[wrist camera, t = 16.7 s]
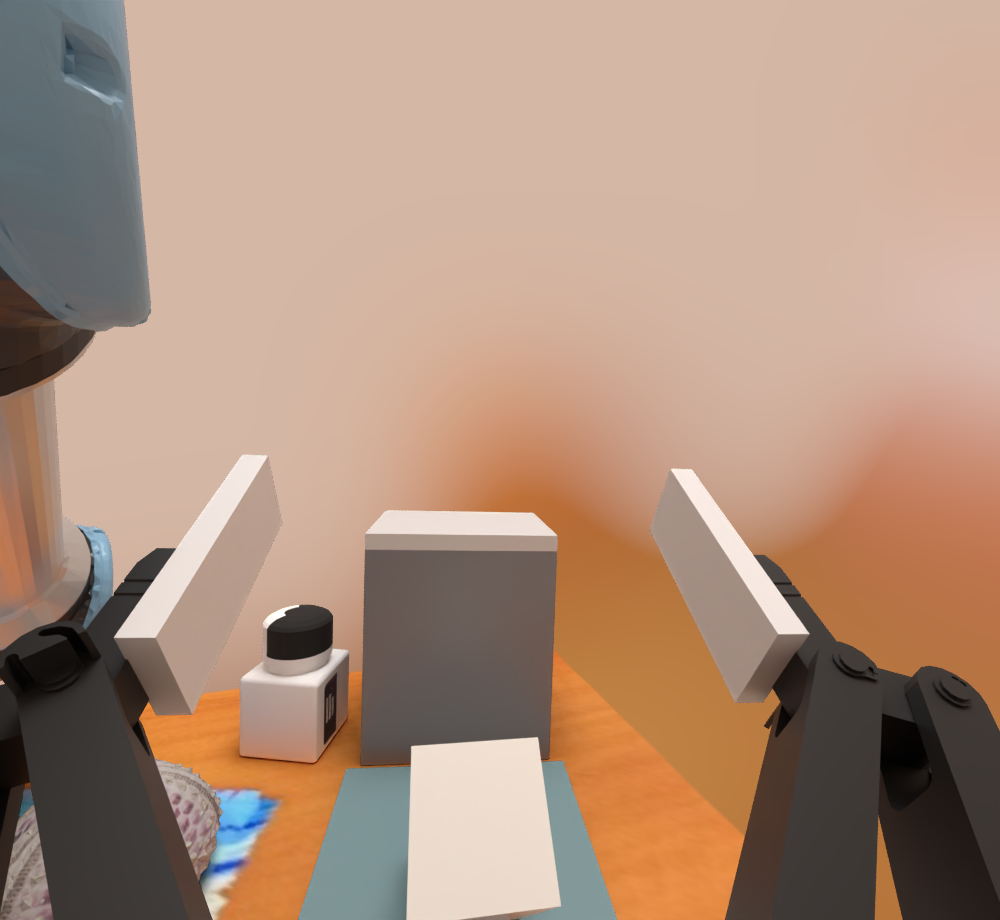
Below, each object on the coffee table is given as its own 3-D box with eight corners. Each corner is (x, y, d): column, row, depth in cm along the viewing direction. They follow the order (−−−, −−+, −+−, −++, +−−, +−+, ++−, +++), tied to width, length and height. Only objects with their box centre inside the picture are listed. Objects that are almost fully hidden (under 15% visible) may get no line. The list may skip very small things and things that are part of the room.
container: (348, 717, 53) (351, 601, 52) (315, 765, 45) (317, 629, 44) (281, 711, 53) (283, 596, 53) (237, 757, 46) (238, 623, 45)
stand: (549, 759, 47) (557, 535, 46) (360, 765, 45) (365, 533, 44) (527, 685, 61) (533, 512, 60) (382, 688, 59) (386, 510, 58)
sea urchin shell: (131, 1016, 25) (132, 870, 25) (-130, 1014, 25) (-133, 866, 25) (255, 818, 39) (256, 721, 38) (84, 815, 38) (84, 718, 38)
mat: (648, 1027, 26) (649, 1013, 26) (256, 1063, 24) (256, 1048, 24) (562, 769, 45) (562, 760, 45) (346, 777, 43) (346, 768, 43)
